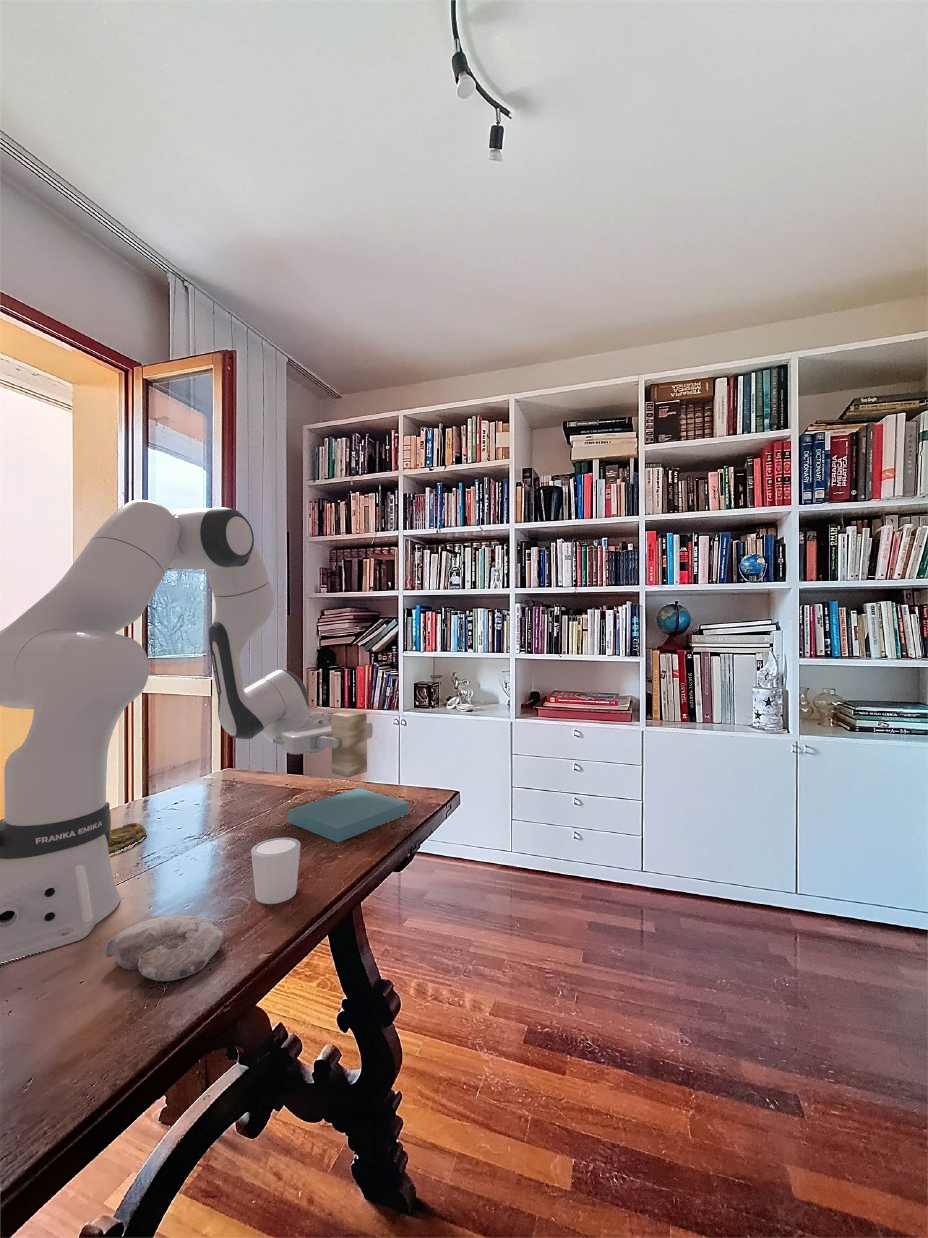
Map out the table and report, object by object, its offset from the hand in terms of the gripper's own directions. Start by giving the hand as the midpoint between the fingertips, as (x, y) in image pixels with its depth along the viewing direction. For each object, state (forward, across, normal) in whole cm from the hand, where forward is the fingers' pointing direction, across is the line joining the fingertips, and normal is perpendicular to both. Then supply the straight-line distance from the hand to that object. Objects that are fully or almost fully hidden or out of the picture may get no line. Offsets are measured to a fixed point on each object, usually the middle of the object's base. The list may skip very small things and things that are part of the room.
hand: (352, 740), depth 108 cm
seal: (-25, -35, +16) cm, 46 cm away
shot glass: (+15, -26, +16) cm, 34 cm away
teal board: (-1, 0, +16) cm, 16 cm away
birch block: (-1, 0, +7) cm, 7 cm away
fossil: (+19, -43, +16) cm, 49 cm away
